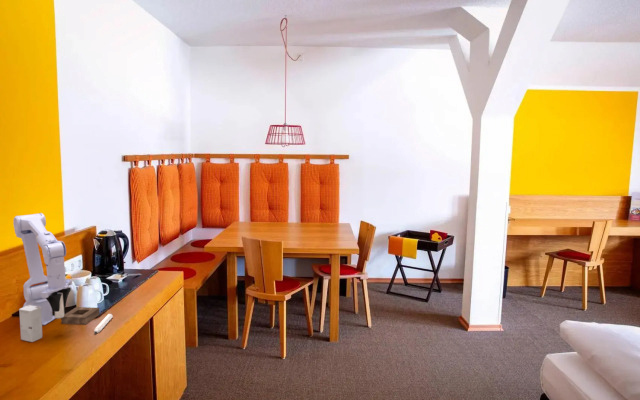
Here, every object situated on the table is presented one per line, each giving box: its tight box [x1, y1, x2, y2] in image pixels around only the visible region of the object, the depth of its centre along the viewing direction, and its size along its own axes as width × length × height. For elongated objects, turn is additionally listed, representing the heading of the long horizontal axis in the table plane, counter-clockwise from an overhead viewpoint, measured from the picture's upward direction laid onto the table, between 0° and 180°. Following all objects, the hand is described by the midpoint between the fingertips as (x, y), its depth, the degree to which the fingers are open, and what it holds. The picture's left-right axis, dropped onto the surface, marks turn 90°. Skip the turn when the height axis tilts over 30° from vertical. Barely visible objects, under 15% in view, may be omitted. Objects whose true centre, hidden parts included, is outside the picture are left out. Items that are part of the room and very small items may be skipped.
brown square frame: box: [60, 306, 100, 326], centre depth 177 cm, size 10×10×3 cm
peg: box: [54, 292, 65, 319], centre depth 161 cm, size 3×3×9 cm
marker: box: [93, 313, 114, 334], centre depth 171 cm, size 3×2×16 cm
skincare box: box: [18, 305, 43, 343], centre depth 159 cm, size 6×4×12 cm
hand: (59, 309), depth 161 cm, fingers closed on peg, 3 cm apart
